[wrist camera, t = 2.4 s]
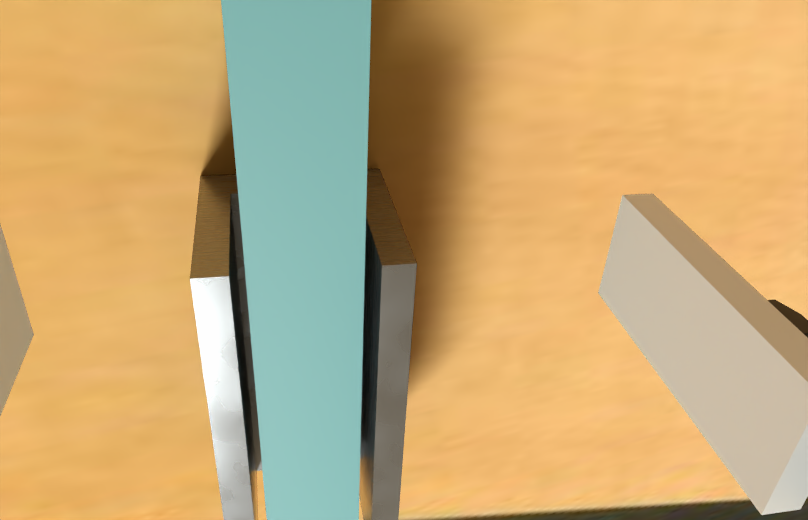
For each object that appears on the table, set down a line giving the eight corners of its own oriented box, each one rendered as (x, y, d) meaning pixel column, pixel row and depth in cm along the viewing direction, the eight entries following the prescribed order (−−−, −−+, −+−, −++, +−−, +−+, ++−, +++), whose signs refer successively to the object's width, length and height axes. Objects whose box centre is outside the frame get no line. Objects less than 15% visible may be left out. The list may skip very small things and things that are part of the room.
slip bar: (265, 460, 35) (269, 547, 31) (216, -128, 21) (211, -113, 17) (344, 451, 36) (358, 535, 31) (347, -122, 22) (374, -107, 17)
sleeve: (232, 448, 37) (232, 577, 30) (200, 175, 28) (190, 278, 22) (370, 432, 38) (395, 552, 32) (379, 168, 29) (416, 263, 23)
